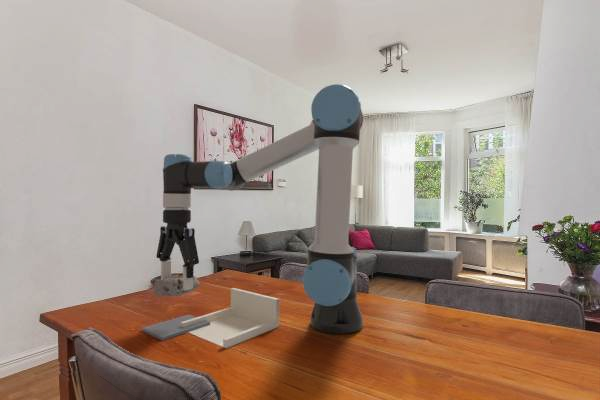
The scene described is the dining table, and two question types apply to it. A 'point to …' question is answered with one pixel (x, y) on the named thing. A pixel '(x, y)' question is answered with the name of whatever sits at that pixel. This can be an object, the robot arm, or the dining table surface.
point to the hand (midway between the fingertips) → (176, 286)
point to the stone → (172, 286)
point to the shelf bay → (238, 319)
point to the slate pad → (173, 327)
